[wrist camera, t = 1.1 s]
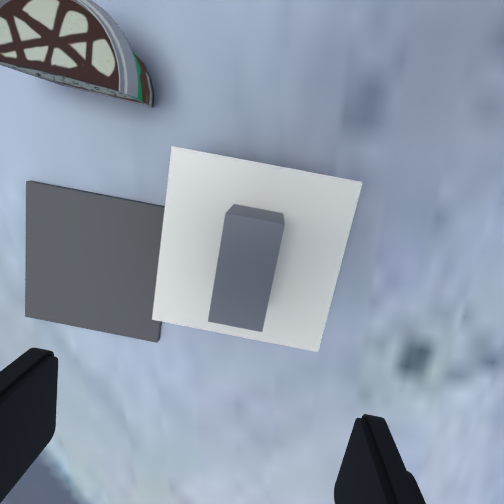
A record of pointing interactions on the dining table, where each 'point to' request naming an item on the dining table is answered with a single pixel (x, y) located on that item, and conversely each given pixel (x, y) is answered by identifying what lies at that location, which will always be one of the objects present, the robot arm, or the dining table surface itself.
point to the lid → (251, 247)
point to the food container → (72, 48)
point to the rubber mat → (92, 260)
